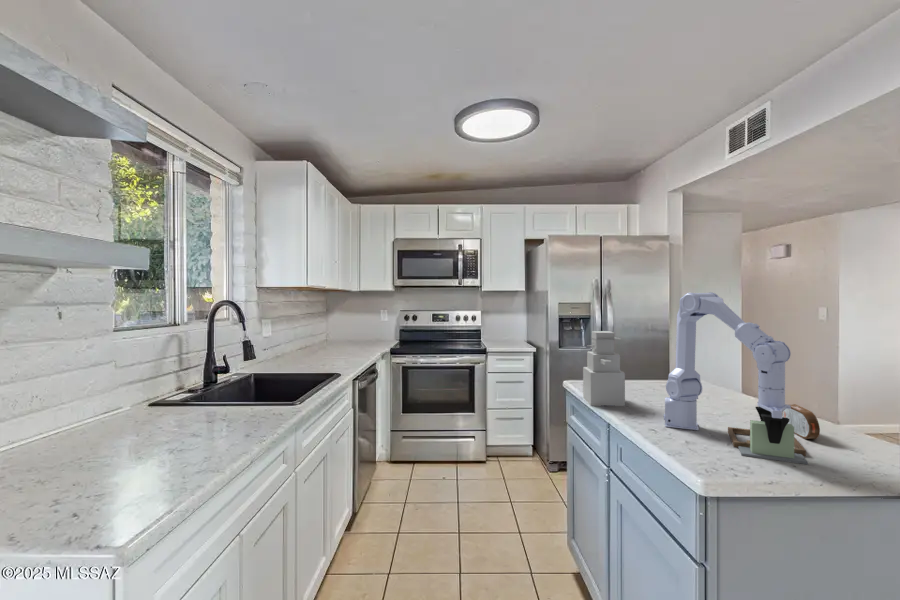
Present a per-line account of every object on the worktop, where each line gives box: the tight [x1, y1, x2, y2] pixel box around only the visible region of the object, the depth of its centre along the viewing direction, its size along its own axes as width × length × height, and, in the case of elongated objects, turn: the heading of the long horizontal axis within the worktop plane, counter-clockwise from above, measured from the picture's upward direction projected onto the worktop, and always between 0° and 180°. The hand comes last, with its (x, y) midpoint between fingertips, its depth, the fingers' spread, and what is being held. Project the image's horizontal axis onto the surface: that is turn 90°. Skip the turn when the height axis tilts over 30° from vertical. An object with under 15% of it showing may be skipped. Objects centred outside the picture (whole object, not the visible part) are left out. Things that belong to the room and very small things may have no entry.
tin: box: [782, 403, 821, 441], centre depth 132 cm, size 15×3×8 cm, turn 168°
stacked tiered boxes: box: [582, 330, 626, 407], centre depth 175 cm, size 13×24×28 cm, turn 175°
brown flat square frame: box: [727, 426, 807, 457], centre depth 125 cm, size 16×15×2 cm
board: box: [749, 420, 795, 458], centre depth 116 cm, size 9×3×8 cm, turn 63°
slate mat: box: [737, 446, 809, 465], centre depth 116 cm, size 14×6×1 cm, turn 63°
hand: (771, 438), depth 116 cm, fingers open, 7 cm apart
